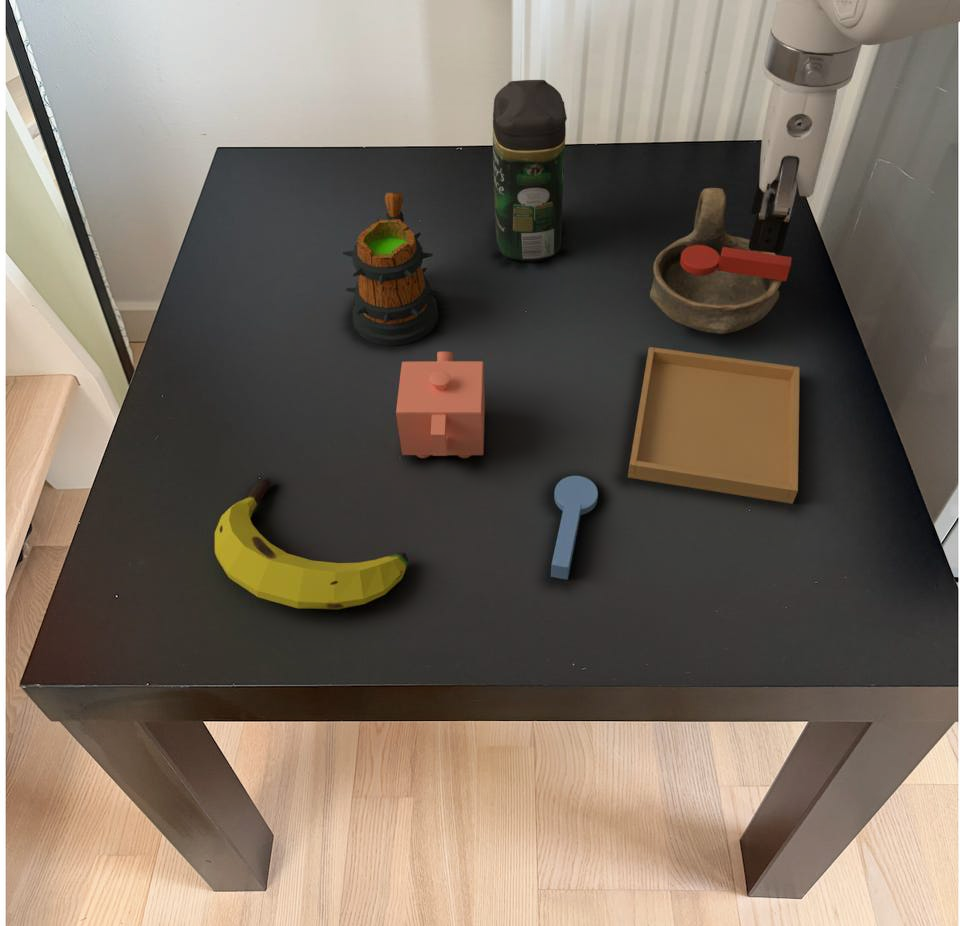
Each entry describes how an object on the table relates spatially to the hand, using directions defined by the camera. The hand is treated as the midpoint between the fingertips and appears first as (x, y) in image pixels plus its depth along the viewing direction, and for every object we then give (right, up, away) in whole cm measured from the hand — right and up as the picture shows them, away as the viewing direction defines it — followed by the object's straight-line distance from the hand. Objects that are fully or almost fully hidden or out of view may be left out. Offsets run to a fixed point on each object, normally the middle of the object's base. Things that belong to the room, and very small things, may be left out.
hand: (765, 230), depth 91 cm
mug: (-38, -6, +12) cm, 40 cm away
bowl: (-3, -5, +11) cm, 12 cm away
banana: (-44, -31, -9) cm, 54 cm away
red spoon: (-2, -3, +4) cm, 5 cm away
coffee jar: (-23, +4, +19) cm, 30 cm away
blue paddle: (-21, -29, -8) cm, 37 cm away
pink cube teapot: (-32, -20, 0) cm, 38 cm away
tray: (-5, -20, -1) cm, 21 cm away
